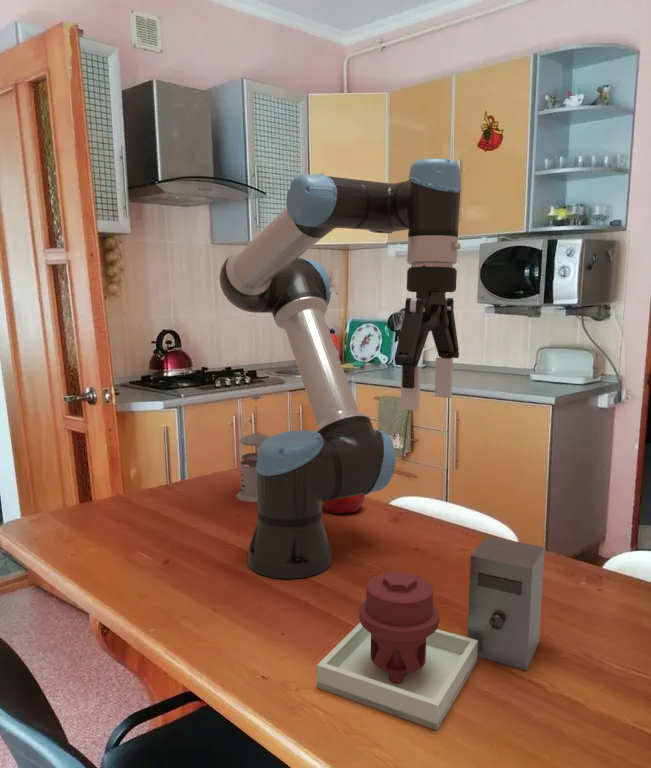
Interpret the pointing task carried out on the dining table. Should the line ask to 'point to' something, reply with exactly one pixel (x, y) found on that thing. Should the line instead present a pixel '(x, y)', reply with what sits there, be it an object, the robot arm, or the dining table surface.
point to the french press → (250, 465)
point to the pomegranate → (344, 504)
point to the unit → (506, 600)
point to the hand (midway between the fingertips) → (427, 403)
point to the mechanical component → (399, 622)
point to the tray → (418, 690)
